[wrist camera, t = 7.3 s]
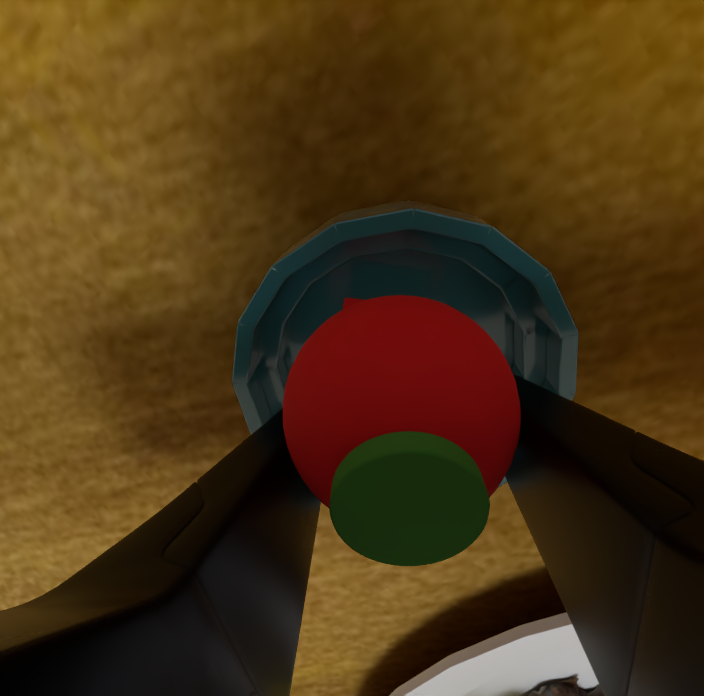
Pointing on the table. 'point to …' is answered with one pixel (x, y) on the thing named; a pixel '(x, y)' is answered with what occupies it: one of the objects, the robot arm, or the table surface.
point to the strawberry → (402, 426)
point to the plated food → (513, 665)
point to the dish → (403, 279)
